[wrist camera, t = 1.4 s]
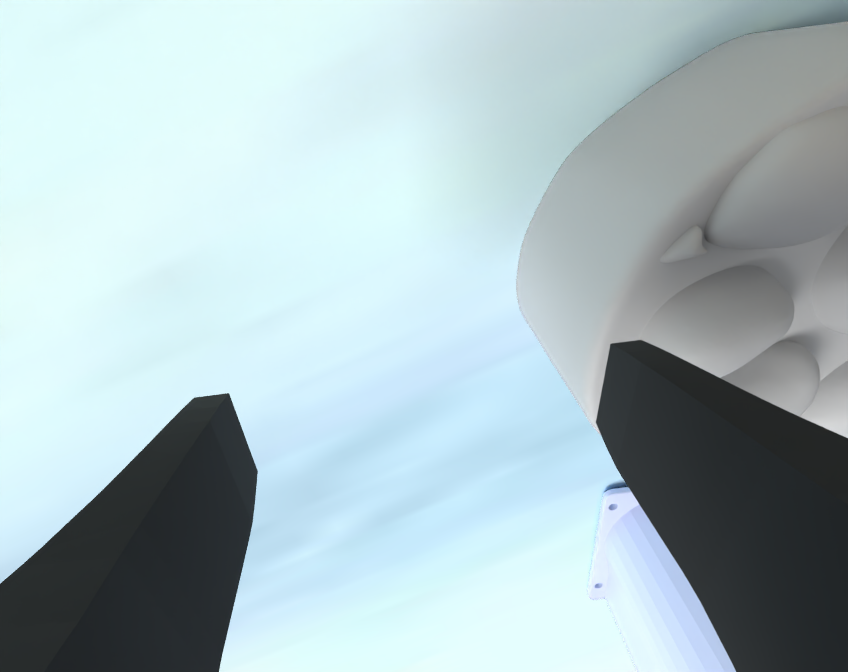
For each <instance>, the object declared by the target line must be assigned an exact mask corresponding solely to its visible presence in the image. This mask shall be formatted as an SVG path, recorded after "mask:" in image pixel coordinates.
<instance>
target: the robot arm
mask: <svg viewBox="0 0 848 672" xmlns="http://www.w3.org/2000/svg"><path fill="white" fill-rule="evenodd" d="M596 424H597V427H598V429H599V431H600V433H601V436H602V438H603V440H604V442H605V445H606V447H607V449H608V451H609V453H610V455H611V457H612V459H613V461H614V464H615V466H616V468H617V469H618V471H619V473H620V474H621V476H622V478H623V479H624V481H625V482H626V484H627V486H628V487H623V488H615V489H610V490H608V491H606V492H605V493H604V494H603V497H602V503H601V509H600V515H599V521H598V527H597V533H596V539H595V545H594V551H593V557H592V563H591V569H590V575H589V581H588V587H587V594H588V596H589V598H590V599H592V600H598V599H605V600H606V602H607V604H608V606H609V609H610V611H611V613H612V615H613V618H614V620H615V622H616V625H617V627H618V629H619V631H620V634H621V636H622V638H623V640H624V643H625V645H626V647H627V650H628V652H629V654H630V656H631V659H632V661H633V663H634V665H635V668H636V670H637V672H848V438H846V437H844V436H842V435H839V434H837V433H835V432H833V431H831V430H828V429H826V428H824V427H822V426H819V425H817V424H815V423H813V422H810V421H808V420H806V419H804V418H802V417H799V416H797V415H795V414H793V413H791V412H789V411H786V410H784V409H782V408H780V407H778V406H776V405H774V404H772V403H770V402H767V401H765V400H763V399H761V398H759V397H757V396H755V395H753V394H751V393H749V392H747V391H745V390H743V389H741V388H739V387H737V386H735V385H733V384H731V383H729V382H727V381H725V380H723V379H721V378H719V377H717V376H715V375H713V374H711V373H709V372H707V371H705V370H703V369H701V368H699V367H697V366H695V365H693V364H691V363H689V362H687V361H685V360H683V359H681V358H679V357H677V356H675V355H673V354H671V353H669V352H667V351H665V350H663V349H661V348H659V347H656V346H654V345H652V344H650V343H647V342H645V341H642V340H635V341H627V342H619V343H612V344H610V349H609V354H608V360H607V365H606V370H605V376H604V381H603V386H602V392H601V397H600V402H599V408H598V413H597V418H596ZM257 472H258V471H257V469H256V466H255V463H254V460H253V458H252V455H251V452H250V450H249V447H248V444H247V441H246V439H245V436H244V433H243V430H242V428H241V425H240V422H239V420H238V417H237V414H236V411H235V409H234V406H233V403H232V401H231V398H230V395H229V393H227V394H220V395H212V396H204V397H197V398H194V399H192V400H191V401H190V402H189V403H188V404H187V405H186V406H185V407H184V408H183V409H182V410H181V411H180V412H179V413H178V414H177V415H176V416H175V417H174V418H173V419H172V420H171V421H170V422H169V423H168V424H167V425H166V426H165V427H164V428H163V429H162V430H161V431H160V432H159V433H158V435H157V436H156V437H155V438H154V439H153V440H152V441H151V442H150V443H149V444H148V445H147V446H146V447H145V448H144V449H143V450H142V451H141V452H140V453H139V454H138V455H137V456H136V457H135V458H134V459H133V460H132V461H131V462H130V463H129V464H128V465H127V466H126V467H125V468H124V469H123V470H122V471H121V472H120V473H119V474H118V475H117V476H116V477H115V478H114V479H113V480H112V481H111V482H110V483H109V484H108V485H107V486H106V487H105V488H104V489H103V490H102V491H101V492H100V493H99V494H98V495H97V496H96V497H95V498H94V499H93V500H92V501H91V502H90V503H89V504H87V505H86V506H85V507H84V508H83V509H82V510H81V511H80V512H79V513H78V514H77V515H76V516H75V517H74V518H73V519H71V520H70V521H69V522H68V523H67V524H66V525H65V526H64V527H63V528H62V529H61V530H60V531H59V532H58V533H57V534H55V535H54V536H53V537H52V538H51V539H50V540H49V541H48V542H47V543H46V544H45V545H44V546H43V547H42V548H41V549H40V550H38V551H37V552H36V553H35V554H34V555H33V556H32V557H31V558H29V559H28V560H27V561H26V562H25V563H24V564H23V565H22V566H20V567H19V568H18V569H17V570H16V571H15V572H13V573H12V574H11V575H10V576H9V577H8V578H6V579H5V580H4V581H3V582H2V583H1V584H0V672H219V668H220V662H221V657H222V653H223V649H224V644H225V640H226V636H227V631H228V627H229V623H230V619H231V614H232V610H233V606H234V602H235V597H236V593H237V589H238V585H239V580H240V576H241V572H242V568H243V563H244V559H245V554H246V550H247V546H248V541H249V537H250V532H251V527H252V522H253V513H254V505H255V495H256V484H257Z"/></svg>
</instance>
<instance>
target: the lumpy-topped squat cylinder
mask: <svg viewBox="0 0 848 672" xmlns="http://www.w3.org/2000/svg"><path fill="white" fill-rule="evenodd" d="M516 291H517V300H518V305H519V308H520V311H521V313H522V315H523V317H524V319H525V320H526V322H527V324H528V325H529V327H530V328H531V330H532V332H533V333H534V335H535V336H536V338H537V340H538V341H539V343H540V344H541V346H542V348H543V349H544V351H545V352H546V354H547V356H548V357H549V359H550V360H551V362H552V364H553V365H554V367H555V368H556V370H557V371H558V373H559V374H560V376H561V377H562V379H563V381H564V382H565V384H566V385H567V387H568V389H569V390H570V392H571V393H572V395H573V396H574V398H575V400H576V401H577V403H578V404H579V406H580V407H581V409H582V411H583V412H584V414H585V416H586V417H587V419H588V421H589V422H590V423H591V425H592V426H593V427H594V428H595V430H596V431H597V432H598V433H599V434H600V435H601V433H600V431H599V429H598V427H597V424H596V418H597V413H598V408H599V402H600V397H601V392H602V386H603V381H604V376H605V370H606V365H607V360H608V354H609V349H610V344H612V343H619V342H627V341H635V340H642V341H645V342H647V343H650V344H652V345H654V346H656V347H659V348H661V349H663V350H665V351H667V352H669V353H671V354H673V355H675V356H677V357H679V358H681V359H683V360H685V361H687V362H689V363H691V364H693V365H695V366H697V367H699V368H701V369H703V370H705V371H707V372H709V373H711V374H713V375H715V376H717V377H719V378H721V379H723V380H725V381H727V382H729V383H731V384H733V385H735V386H737V387H739V388H741V389H743V390H745V391H747V392H749V393H751V394H753V395H755V396H757V397H759V398H761V399H763V400H765V401H767V402H770V403H772V404H774V405H776V406H778V407H780V408H782V409H784V410H786V411H789V412H791V413H793V414H795V415H797V416H799V417H802V418H804V419H806V420H808V421H810V422H813V423H815V424H817V425H819V426H822V427H824V428H826V429H828V430H831V431H833V432H835V433H837V434H839V435H842V436H844V437H846V438H848V21H847V22H839V23H831V24H823V25H815V26H806V27H798V28H790V29H782V30H774V31H766V32H758V33H751V34H747V35H743V36H740V37H737V38H734V39H732V40H729V41H727V42H725V43H723V44H721V45H719V46H717V47H715V48H713V49H711V50H709V51H708V52H706V53H704V54H702V55H701V56H699V57H698V58H696V59H694V60H693V61H691V62H690V63H688V64H686V65H685V66H683V67H682V68H680V69H678V70H677V71H675V72H673V73H672V74H670V75H668V76H667V77H665V78H664V79H662V80H661V81H659V82H657V83H656V84H654V85H653V86H652V87H650V88H649V89H647V90H646V91H644V92H643V93H642V94H640V95H639V96H638V97H636V98H635V99H633V100H632V101H631V102H629V103H628V104H627V105H625V106H624V107H623V108H622V109H620V110H619V111H618V112H616V113H615V114H614V115H613V116H611V117H610V118H609V119H608V120H606V121H605V122H604V123H603V124H601V125H600V126H599V127H598V128H597V129H596V130H594V131H593V132H592V133H591V134H590V135H589V136H588V137H586V138H585V139H584V140H583V141H582V142H581V143H580V144H579V145H578V146H577V147H576V148H575V149H574V150H573V151H572V152H571V153H570V155H569V156H568V157H567V158H566V160H565V161H564V162H563V164H562V165H561V167H560V168H559V170H558V171H557V173H556V175H555V176H554V178H553V180H552V181H551V183H550V185H549V187H548V188H547V190H546V192H545V194H544V196H543V198H542V200H541V201H540V203H539V205H538V207H537V209H536V211H535V213H534V215H533V218H532V220H531V222H530V224H529V226H528V229H527V231H526V234H525V237H524V240H523V243H522V246H521V251H520V256H519V262H518V269H517V280H516Z"/></svg>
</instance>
